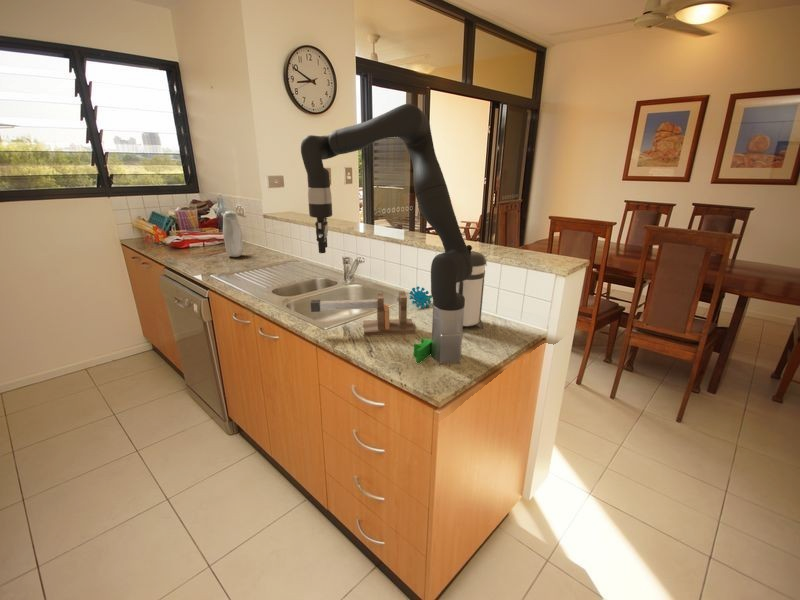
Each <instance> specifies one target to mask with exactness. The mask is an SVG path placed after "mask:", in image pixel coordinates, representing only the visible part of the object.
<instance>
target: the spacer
mask: <svg viewBox="0 0 800 600" xmlns="http://www.w3.org/2000/svg"><path fill="white" fill-rule="evenodd" d="M389 308H390V307H389V303H384V327H385V330H386V329H389V320H390V309H389Z"/></svg>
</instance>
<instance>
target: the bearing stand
mask: <svg viewBox="0 0 800 600" xmlns="http://www.w3.org/2000/svg"><path fill="white" fill-rule="evenodd" d="M407 298H408V296H407V295H406V292H405V290H398V318H396V319H389V329H386V330H385V327H384V304H385V302H384V301H385V300H384V293H383V291H376V299H377V301H378V308H376V320H375V319H374V320H371V319H370V320H362V321H363V336H364V337H378V336H397V335H398V336H400V335H402V336H403V335H416V328H415V326H414V325H415V324H414V323H413V320H412V319H413V318H408V317H407V316H408V315H407V314H408V313H407V312H408V310H407V309H408V307H407V306H408V299H407Z"/></svg>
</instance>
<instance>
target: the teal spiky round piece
mask: <svg viewBox="0 0 800 600" xmlns="http://www.w3.org/2000/svg"><path fill="white" fill-rule="evenodd" d="M420 288H421V289H420ZM409 295H410V296H409V300H412V301H411V303H412V305H415V303H416V305H415V307H416V308H419V307H420V308H421V309H425V308H428V307H430V304H431V303H432V300H431V299H433V298H432V294H430V295H429V291H428V290H426V291H425V288H424V287H420V286H418V285H417V286H416V287H412V288H411V290H410V292H409Z"/></svg>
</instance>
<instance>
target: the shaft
mask: <svg viewBox="0 0 800 600" xmlns="http://www.w3.org/2000/svg"><path fill="white" fill-rule="evenodd" d="M377 308H378V301H377V298H375V299H373V298H372V299H350V300H349V299H345V300H342V299H340V300H321V299H311V300H310V312H311V313H316V312H317V313H319V312H321V311H328V310H329V311H334V310H335V311H336V310H358V309H359V310H361V309H362V310H363V309H366V310H367V309H377Z"/></svg>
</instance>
